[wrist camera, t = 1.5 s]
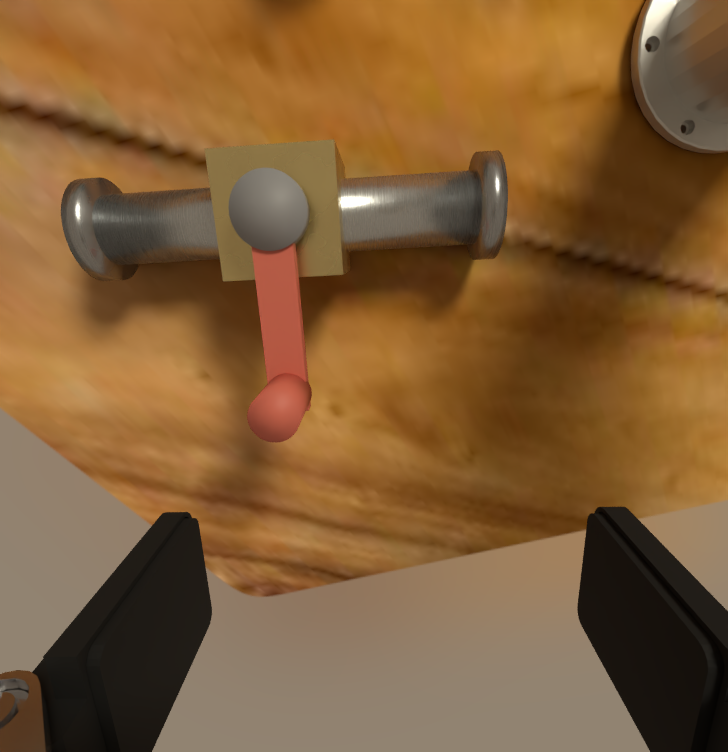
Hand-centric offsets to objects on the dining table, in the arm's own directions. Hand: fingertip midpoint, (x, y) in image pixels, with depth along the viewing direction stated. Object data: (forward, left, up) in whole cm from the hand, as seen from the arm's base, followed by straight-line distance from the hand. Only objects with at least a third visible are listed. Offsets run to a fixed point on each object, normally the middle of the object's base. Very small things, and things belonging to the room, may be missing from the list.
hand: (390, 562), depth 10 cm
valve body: (+6, -10, -24) cm, 27 cm away
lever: (+6, -5, -16) cm, 18 cm away
